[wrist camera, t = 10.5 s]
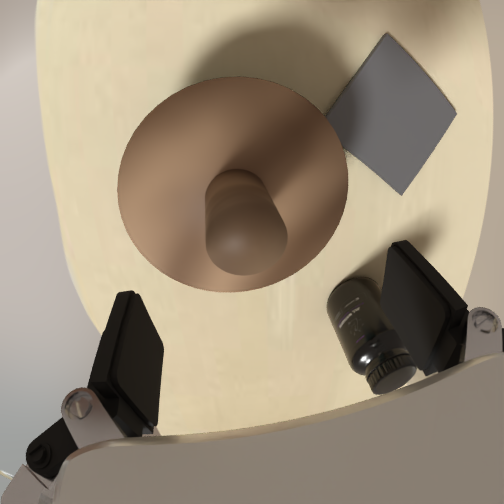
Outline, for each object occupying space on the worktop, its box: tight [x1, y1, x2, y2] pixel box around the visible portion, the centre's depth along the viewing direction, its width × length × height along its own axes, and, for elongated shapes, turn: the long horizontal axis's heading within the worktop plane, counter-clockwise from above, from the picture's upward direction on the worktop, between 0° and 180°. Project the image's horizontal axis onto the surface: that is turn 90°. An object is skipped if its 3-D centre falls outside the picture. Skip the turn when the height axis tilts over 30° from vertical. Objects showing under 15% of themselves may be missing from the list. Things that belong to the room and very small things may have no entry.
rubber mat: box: [325, 34, 457, 196], centre depth 22 cm, size 11×11×1 cm
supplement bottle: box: [327, 277, 417, 395], centre depth 28 cm, size 7×7×12 cm
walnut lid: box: [117, 77, 348, 292], centre depth 16 cm, size 14×14×6 cm
